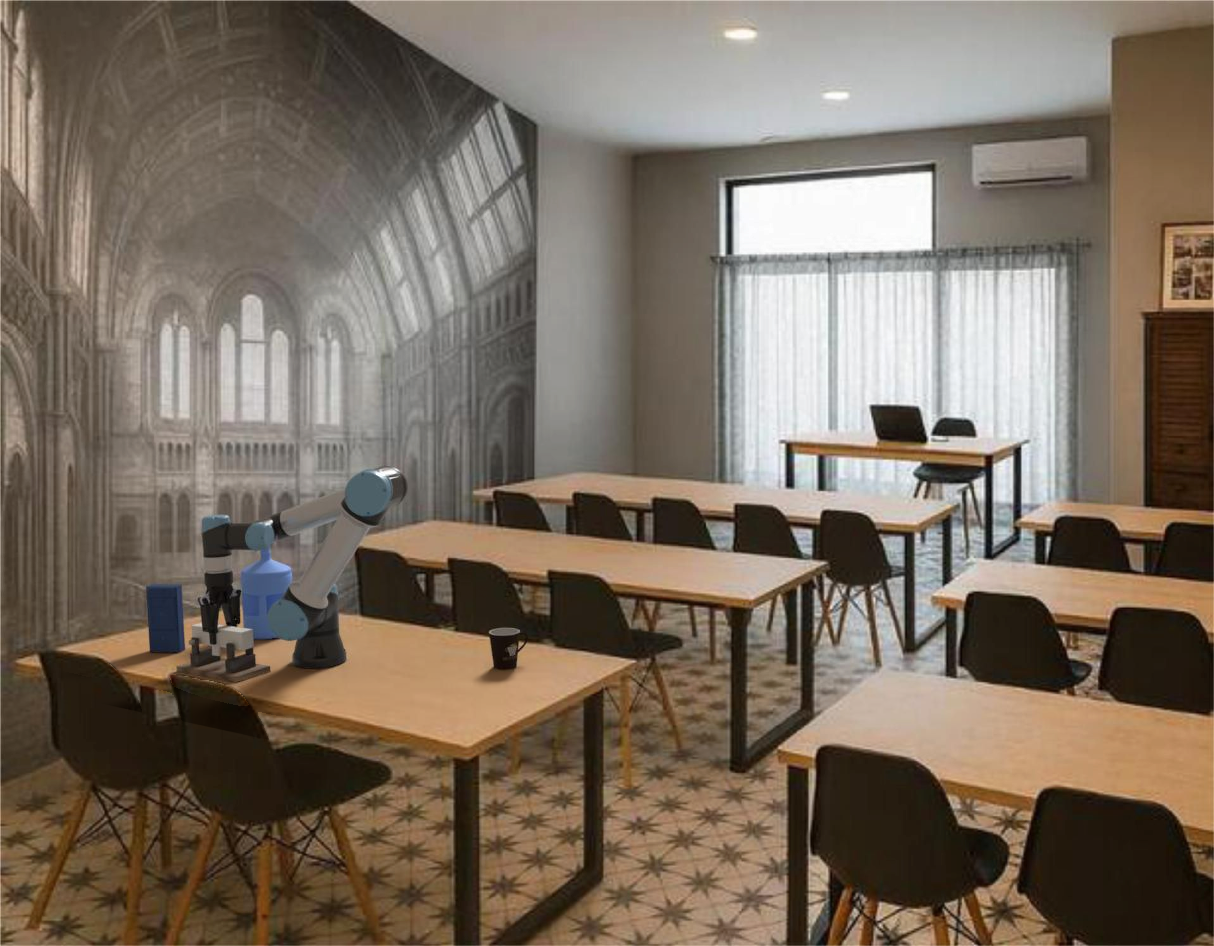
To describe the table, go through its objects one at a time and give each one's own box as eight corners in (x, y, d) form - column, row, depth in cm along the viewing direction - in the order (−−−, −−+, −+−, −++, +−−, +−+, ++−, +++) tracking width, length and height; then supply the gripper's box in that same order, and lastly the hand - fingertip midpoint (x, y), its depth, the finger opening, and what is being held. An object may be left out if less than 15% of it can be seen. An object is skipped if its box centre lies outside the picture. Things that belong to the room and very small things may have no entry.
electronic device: (186, 648, 343) (183, 583, 341) (178, 653, 338) (175, 587, 336) (156, 648, 344) (153, 583, 342) (148, 652, 339) (144, 587, 336)
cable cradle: (270, 671, 317) (268, 638, 316) (237, 682, 306) (235, 648, 305) (210, 660, 328) (209, 628, 327) (176, 671, 318) (174, 638, 317)
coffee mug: (492, 672, 313) (491, 636, 312) (487, 663, 321) (486, 629, 320) (534, 668, 316) (533, 633, 315) (527, 660, 324) (527, 626, 323)
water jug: (250, 628, 367) (246, 543, 364) (299, 627, 368) (295, 542, 365) (237, 640, 351) (233, 551, 348) (288, 639, 352) (284, 550, 349)
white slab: (253, 647, 313) (252, 629, 313) (242, 650, 310) (241, 632, 309) (203, 639, 323) (202, 622, 323) (192, 642, 320) (191, 625, 319)
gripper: (232, 564, 324) (237, 644, 326) (183, 575, 309) (189, 659, 311) (251, 566, 320) (256, 647, 322) (202, 577, 305) (208, 662, 308)
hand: (223, 653), depth 317 cm, fingers closed on white slab, 4 cm apart
